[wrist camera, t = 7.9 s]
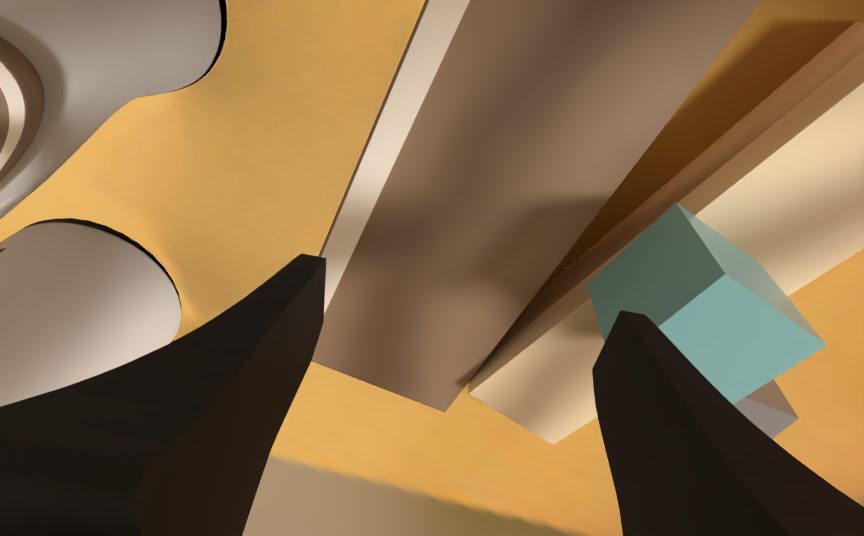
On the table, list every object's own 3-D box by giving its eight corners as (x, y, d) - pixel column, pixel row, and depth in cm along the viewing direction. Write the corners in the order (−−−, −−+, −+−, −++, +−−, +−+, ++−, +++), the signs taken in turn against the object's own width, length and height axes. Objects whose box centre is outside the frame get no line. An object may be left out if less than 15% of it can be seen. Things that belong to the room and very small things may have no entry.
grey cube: (676, 315, 22) (752, 346, 23) (622, 373, 24) (692, 400, 25) (711, 384, 19) (798, 418, 19) (644, 445, 21) (725, 474, 22)
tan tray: (933, 121, 17) (1009, 155, 15) (545, 394, 26) (552, 444, 23) (850, 19, 16) (920, 38, 13) (470, 345, 24) (468, 393, 22)
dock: (760, -49, 14) (797, -44, 13) (447, 380, 25) (444, 414, 23) (514, -208, 13) (520, -227, 11) (293, 319, 24) (278, 350, 22)
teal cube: (760, 263, 17) (826, 345, 14) (667, 335, 19) (706, 421, 16) (675, 202, 16) (725, 273, 13) (587, 284, 18) (610, 364, 15)
